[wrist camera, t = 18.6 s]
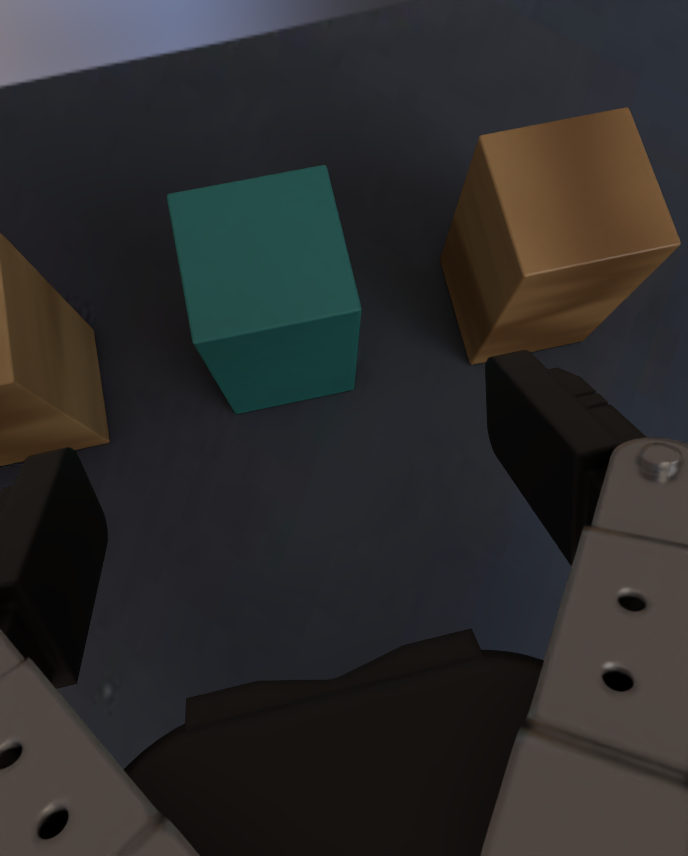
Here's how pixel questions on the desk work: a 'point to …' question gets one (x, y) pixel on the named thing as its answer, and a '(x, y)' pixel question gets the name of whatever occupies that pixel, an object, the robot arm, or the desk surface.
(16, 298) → the block left
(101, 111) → the desk surface
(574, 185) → the block right
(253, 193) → the teal block
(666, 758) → the robot arm
